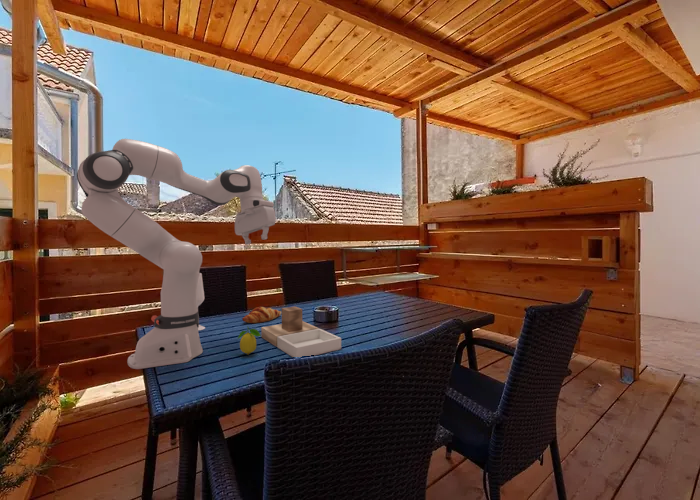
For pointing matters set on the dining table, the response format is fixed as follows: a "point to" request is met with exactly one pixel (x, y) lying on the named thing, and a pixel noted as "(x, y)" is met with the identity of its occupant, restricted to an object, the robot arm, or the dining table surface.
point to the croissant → (261, 315)
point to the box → (308, 343)
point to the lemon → (248, 340)
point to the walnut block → (292, 319)
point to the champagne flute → (200, 295)
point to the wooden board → (281, 332)
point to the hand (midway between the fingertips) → (256, 241)
